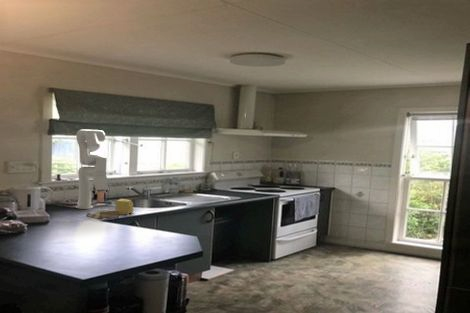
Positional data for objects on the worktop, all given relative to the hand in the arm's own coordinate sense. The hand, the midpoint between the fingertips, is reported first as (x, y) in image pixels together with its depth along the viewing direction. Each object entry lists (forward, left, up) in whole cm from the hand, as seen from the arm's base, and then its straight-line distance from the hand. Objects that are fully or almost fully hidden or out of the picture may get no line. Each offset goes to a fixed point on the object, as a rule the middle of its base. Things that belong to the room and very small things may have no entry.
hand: (99, 199), depth 320 cm
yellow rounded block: (+2, +20, -12) cm, 23 cm away
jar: (0, 0, -2) cm, 2 cm away
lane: (+5, 0, -11) cm, 13 cm away
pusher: (+4, 0, -11) cm, 12 cm away
